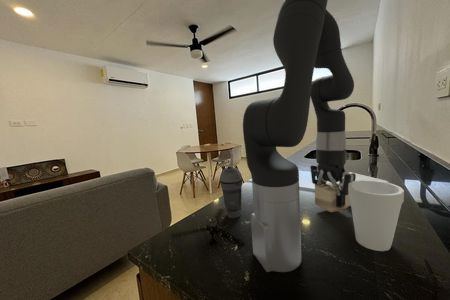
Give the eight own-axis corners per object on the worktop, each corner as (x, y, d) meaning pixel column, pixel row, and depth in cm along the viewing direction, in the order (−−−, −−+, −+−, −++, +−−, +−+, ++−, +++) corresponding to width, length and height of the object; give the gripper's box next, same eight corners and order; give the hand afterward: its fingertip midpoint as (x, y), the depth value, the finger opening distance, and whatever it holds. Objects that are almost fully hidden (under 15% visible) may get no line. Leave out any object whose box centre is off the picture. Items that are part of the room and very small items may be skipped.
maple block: (331, 212, 54) (330, 192, 53) (315, 204, 60) (314, 185, 59) (347, 208, 56) (347, 188, 55) (330, 200, 61) (330, 182, 60)
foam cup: (347, 226, 50) (347, 178, 48) (394, 234, 45) (396, 181, 43) (349, 249, 42) (349, 192, 40) (406, 261, 37) (410, 198, 35)
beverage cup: (233, 207, 67) (228, 150, 64) (250, 213, 61) (245, 151, 58) (218, 215, 62) (212, 154, 59) (234, 222, 56) (229, 156, 53)
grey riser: (348, 206, 60) (348, 191, 59) (314, 192, 73) (314, 179, 73) (388, 195, 65) (388, 181, 65) (350, 183, 79) (350, 172, 78)
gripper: (302, 146, 61) (303, 196, 63) (342, 151, 47) (342, 215, 49) (321, 143, 63) (321, 192, 65) (365, 148, 49) (363, 209, 52)
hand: (330, 202), depth 57 cm, fingers closed on maple block, 6 cm apart
